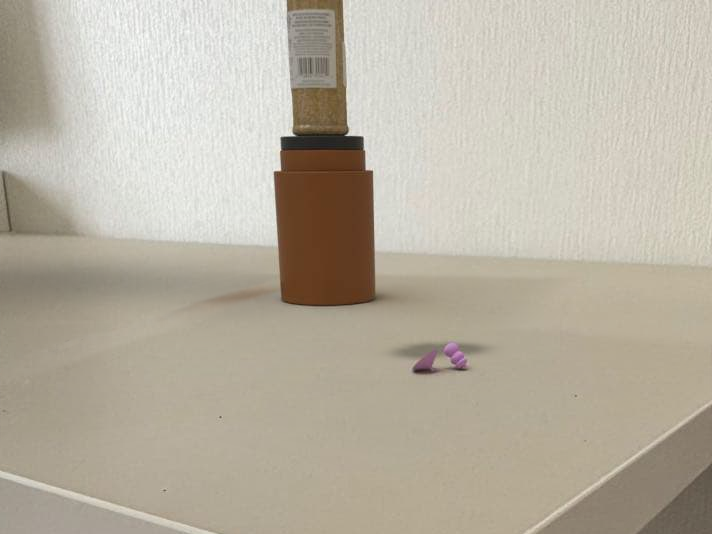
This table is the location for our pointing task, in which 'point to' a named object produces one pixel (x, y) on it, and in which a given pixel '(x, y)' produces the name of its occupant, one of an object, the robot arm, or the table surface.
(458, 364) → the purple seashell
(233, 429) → the table surface
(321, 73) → the sprinkles bottle
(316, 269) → the amber bottle
